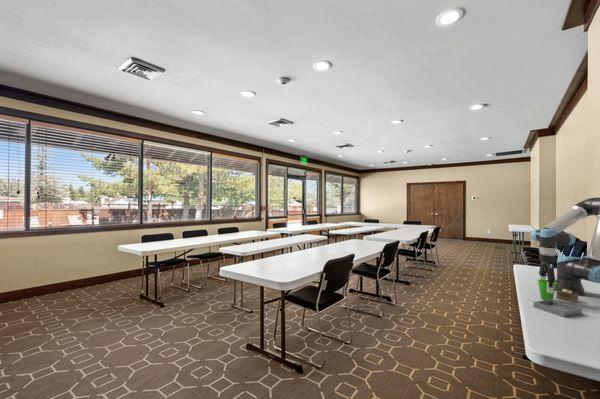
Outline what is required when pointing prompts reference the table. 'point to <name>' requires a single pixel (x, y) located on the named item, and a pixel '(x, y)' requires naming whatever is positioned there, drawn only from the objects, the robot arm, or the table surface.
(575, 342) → the table surface
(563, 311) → the tray
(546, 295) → the cup
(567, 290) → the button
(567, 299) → the block
